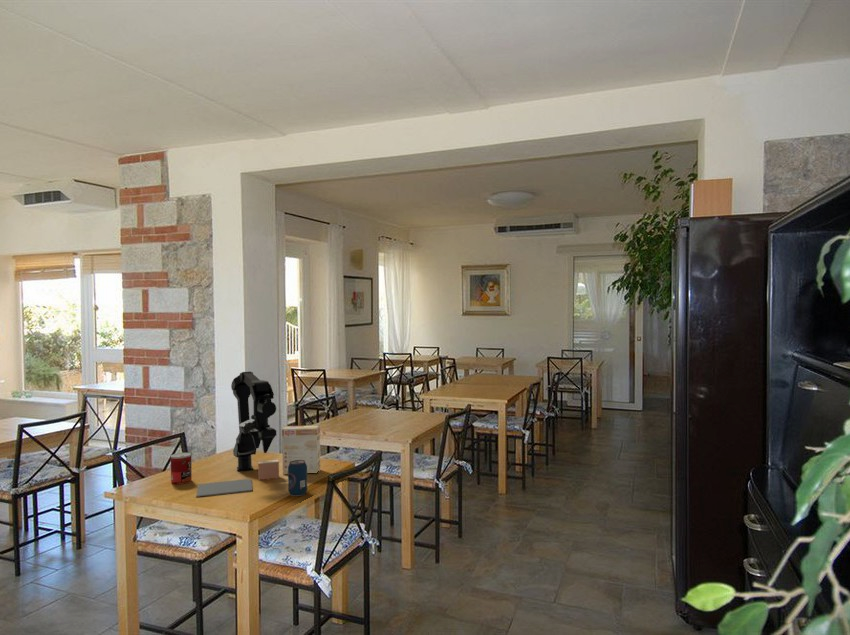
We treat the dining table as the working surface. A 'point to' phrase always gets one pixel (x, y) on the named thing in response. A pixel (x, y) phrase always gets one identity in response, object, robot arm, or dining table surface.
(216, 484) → the mat
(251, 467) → the robot arm
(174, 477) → the canned food
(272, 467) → the slab
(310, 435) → the coffeecake box
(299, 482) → the soda can
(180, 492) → the dining table surface
